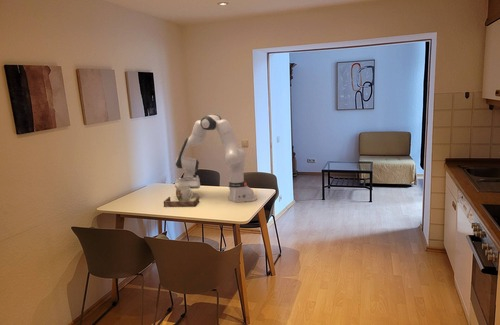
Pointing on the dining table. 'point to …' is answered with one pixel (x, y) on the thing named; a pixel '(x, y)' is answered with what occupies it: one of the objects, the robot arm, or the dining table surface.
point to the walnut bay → (180, 203)
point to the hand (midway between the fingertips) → (186, 192)
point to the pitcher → (183, 191)
